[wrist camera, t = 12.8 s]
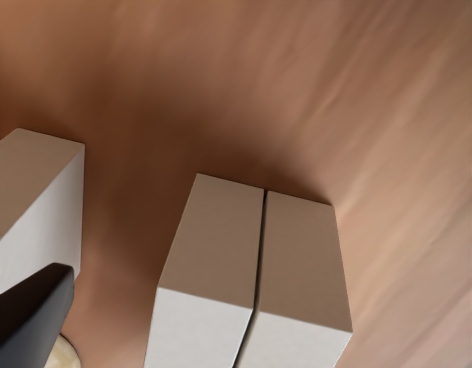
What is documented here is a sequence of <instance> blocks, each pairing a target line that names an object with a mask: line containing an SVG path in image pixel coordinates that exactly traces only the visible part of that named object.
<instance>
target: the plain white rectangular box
mask: <svg viewBox="0 0 472 368" xmlns="http://www.w3.org/2000/svg"><path fill="white" fill-rule="evenodd" d="M84 156H85V144H82V143H78V142H74V141H70V140H66V139H62V138H58V137H54V136H50V135H46V134H42V133H38V132H34V131H29V130H25V129H21V128H16V129H15V130H13V131H12V132H11V133H9V134H8V135H7V136H6V137H4V138H3V139H2V140H1V141H0V294H1V293H3V292H5V291H6V290H8V289H10V288H11V287H13V286H15V285H16V284H18V283H19V282H21V281H23V280H24V279H26V278H28V277H29V276H31V275H32V274H34V273H36V272H37V271H39V270H41V269H42V268H44V267H45V266H47V265H49V264H51V263H54V262H57V263H62V264H66V265H70V266H72V267H73V268H74V281H75V279H76V278H77V276H78V274H79V273H80V263H81V236H82V210H83V183H84Z"/></svg>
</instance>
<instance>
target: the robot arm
mask: <svg viewBox="0 0 472 368" xmlns="http://www.w3.org/2000/svg"><path fill="white" fill-rule="evenodd" d="M73 298H74V268H73V267H72V266H70V265H66V264H62V263H57V262H54V263H51V264H49V265H47V266H45V267H44V268H42V269H41V270H39V271H37V272H36V273H34V274H32V275H31V276H29V277H28V278H26V279H24V280H23V281H21V282H19V283H18V284H16V285H15V286H13V287H11V288H10V289H8V290H6V291H5V292H3V293H1V294H0V368H44V367H45V365H46V362H47V360H48V358H49V355H50V353H51V351H52V349H53V346H54V344H55V342H56V339H57V337H58V335H59V333H60V330H61V328H62V326H63V323H64V321H65V319H66V316H67V314H68V312H69V310H70V307H71V305H72V302H73Z"/></svg>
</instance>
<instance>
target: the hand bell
mask: <svg viewBox="0 0 472 368" xmlns="http://www.w3.org/2000/svg"><path fill="white" fill-rule="evenodd" d="M44 368H81V365H80V360H79V357H78V355H77V353H76V351H75V350H74V348H73V347H72V346H71V345H70V343H69V342H68V341H67V340H66V339H65V338H63V337H62V336H61V335H60V334H59V335H58V337H57V339H56V342H55V344H54V346H53V349H52V351H51V353H50V355H49V358H48V360H47V362H46V365H45V367H44Z"/></svg>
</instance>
